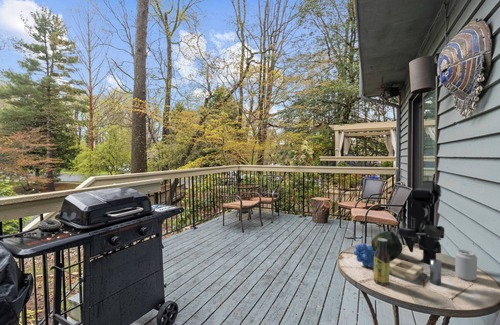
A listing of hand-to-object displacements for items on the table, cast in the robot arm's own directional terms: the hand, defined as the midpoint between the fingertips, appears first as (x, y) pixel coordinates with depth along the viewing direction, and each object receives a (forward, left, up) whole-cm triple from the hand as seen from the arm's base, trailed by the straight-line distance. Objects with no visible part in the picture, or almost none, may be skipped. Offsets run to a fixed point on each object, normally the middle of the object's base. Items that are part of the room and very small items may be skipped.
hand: (420, 252), depth 112 cm
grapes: (+6, -22, -13) cm, 26 cm away
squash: (-17, -22, -13) cm, 31 cm away
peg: (-3, +5, -13) cm, 14 cm away
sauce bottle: (+15, -10, -13) cm, 22 cm away
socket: (-1, -7, -13) cm, 15 cm away
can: (-19, +12, -13) cm, 26 cm away
